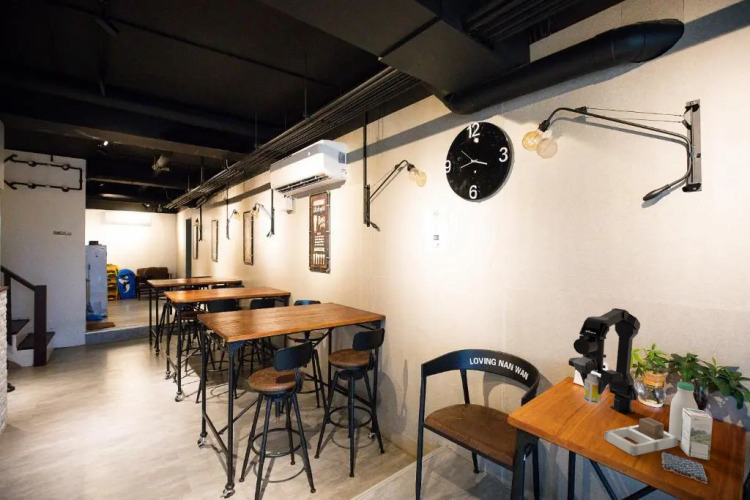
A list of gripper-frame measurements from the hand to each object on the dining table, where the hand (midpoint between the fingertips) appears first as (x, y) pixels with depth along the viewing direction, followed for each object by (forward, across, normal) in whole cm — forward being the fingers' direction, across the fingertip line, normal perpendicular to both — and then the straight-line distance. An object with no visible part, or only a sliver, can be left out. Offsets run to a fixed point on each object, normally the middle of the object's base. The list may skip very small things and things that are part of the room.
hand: (592, 391), depth 134 cm
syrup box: (+13, +24, +17) cm, 32 cm away
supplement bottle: (+4, 0, 0) cm, 4 cm away
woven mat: (+14, +28, +4) cm, 32 cm away
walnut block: (+13, +14, +11) cm, 22 cm away
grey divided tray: (+13, +14, +6) cm, 20 cm away
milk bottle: (+13, +16, +25) cm, 33 cm away
